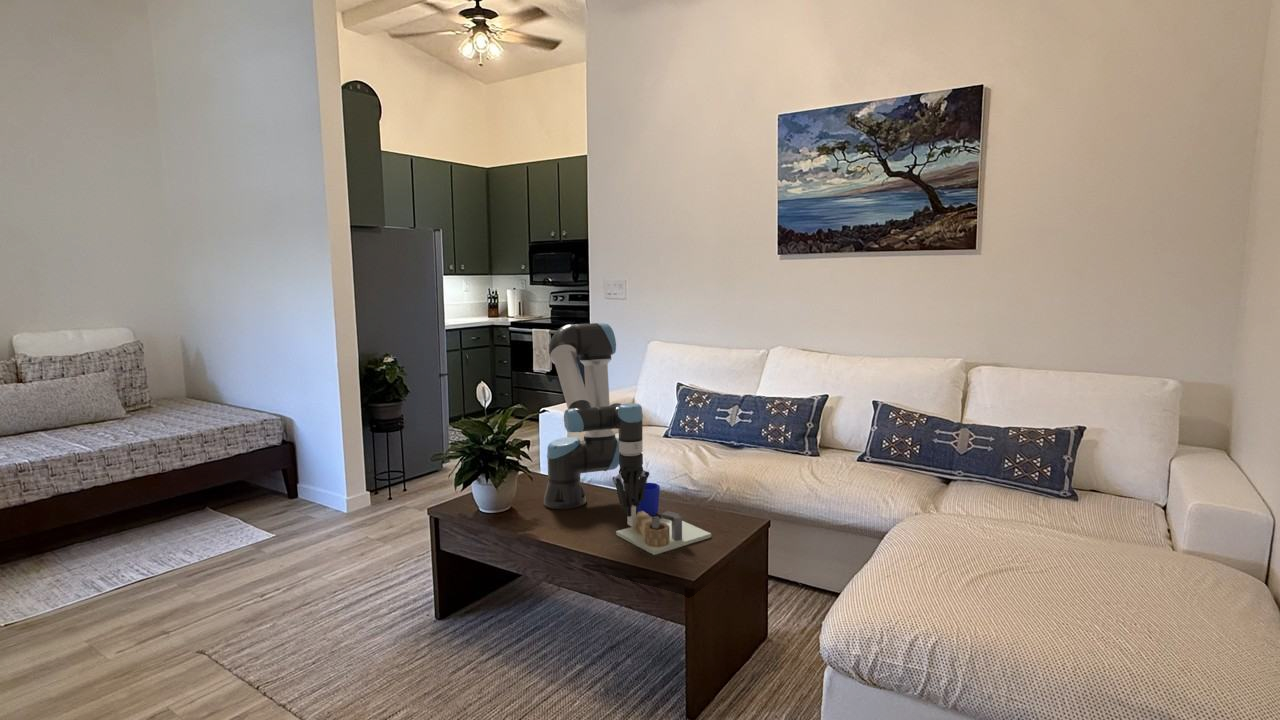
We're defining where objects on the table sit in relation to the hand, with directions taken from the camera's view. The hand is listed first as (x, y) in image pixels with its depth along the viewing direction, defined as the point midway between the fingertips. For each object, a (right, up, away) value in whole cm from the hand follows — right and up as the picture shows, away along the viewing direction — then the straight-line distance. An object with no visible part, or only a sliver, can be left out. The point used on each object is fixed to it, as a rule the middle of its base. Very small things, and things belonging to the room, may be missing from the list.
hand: (631, 525), depth 221 cm
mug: (+5, -1, +16) cm, 17 cm away
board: (+10, -3, -2) cm, 11 cm away
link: (+6, -2, -5) cm, 8 cm away
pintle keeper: (+10, -4, -7) cm, 13 cm away
